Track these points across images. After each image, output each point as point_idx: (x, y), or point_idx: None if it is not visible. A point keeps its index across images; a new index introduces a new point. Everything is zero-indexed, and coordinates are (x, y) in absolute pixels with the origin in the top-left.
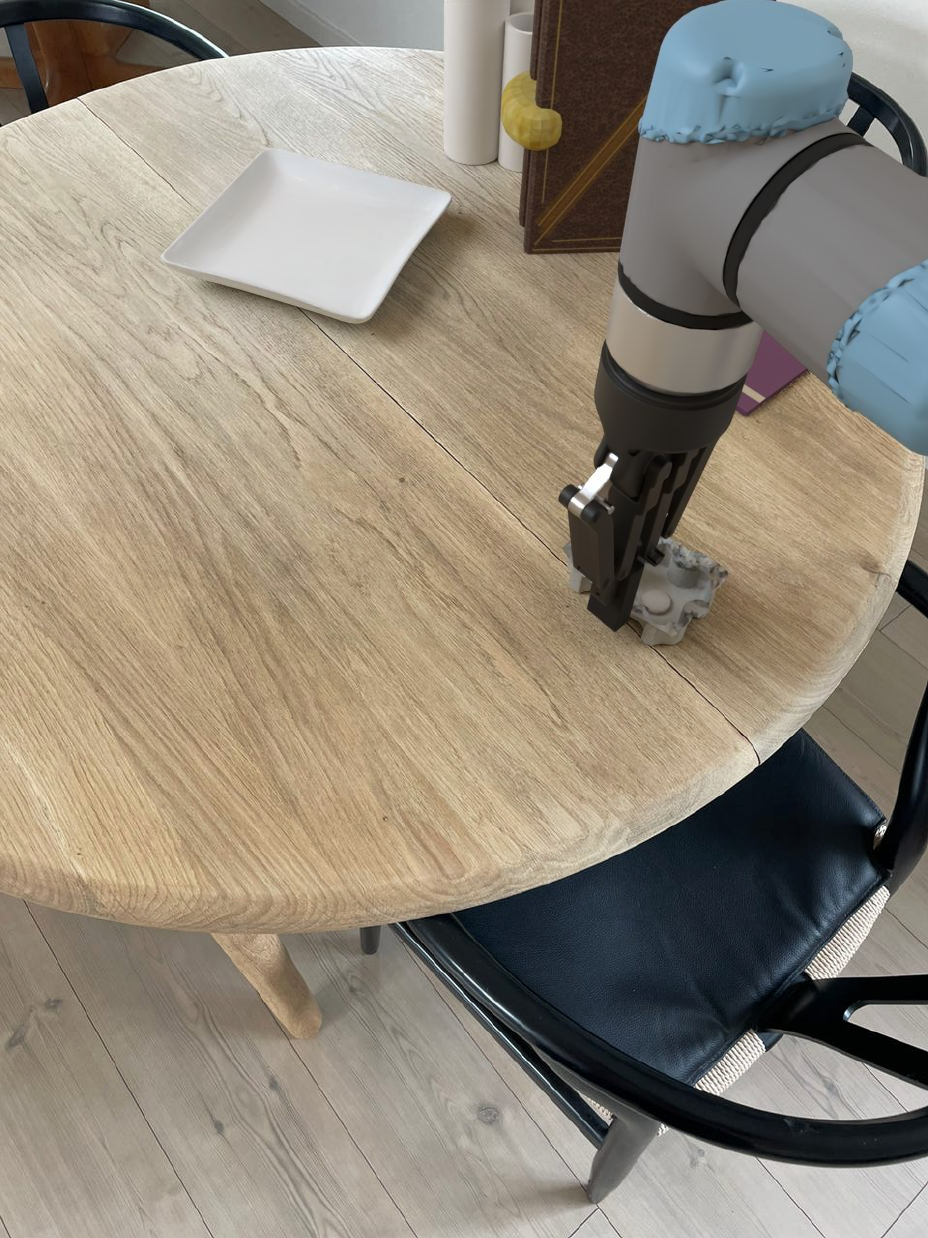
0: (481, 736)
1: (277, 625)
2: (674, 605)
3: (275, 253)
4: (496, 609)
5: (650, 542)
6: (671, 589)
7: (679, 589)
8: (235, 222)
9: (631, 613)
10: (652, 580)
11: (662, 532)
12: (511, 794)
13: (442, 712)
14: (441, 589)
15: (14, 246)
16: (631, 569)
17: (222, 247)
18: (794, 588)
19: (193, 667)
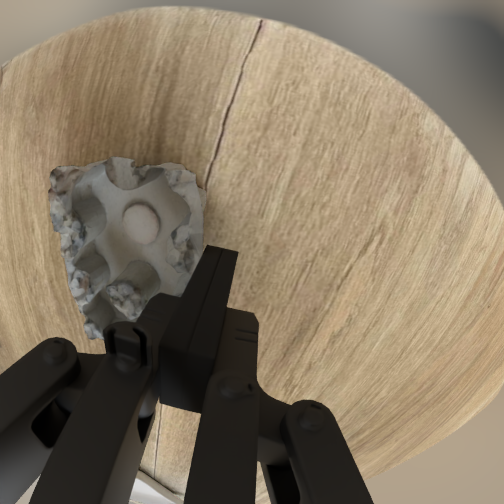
0: (420, 293)
1: (367, 431)
2: (129, 200)
3: (142, 487)
4: (273, 358)
5: (124, 413)
6: (113, 216)
7: (106, 208)
8: (146, 495)
9: (202, 252)
10: (118, 243)
11: (72, 375)
12: (461, 237)
13: (406, 332)
14: (281, 395)
15: None
16: (193, 363)
17: (161, 497)
18: (38, 106)
19: (407, 431)
